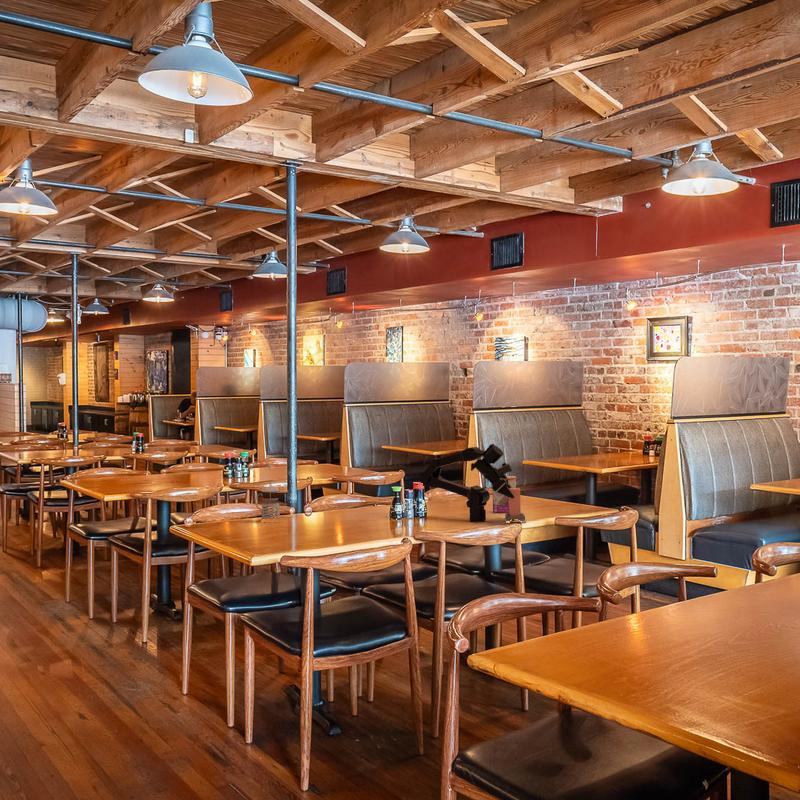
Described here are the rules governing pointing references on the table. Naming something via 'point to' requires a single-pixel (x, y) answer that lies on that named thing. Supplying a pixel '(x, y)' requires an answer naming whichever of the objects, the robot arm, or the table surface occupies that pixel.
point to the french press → (269, 503)
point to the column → (514, 502)
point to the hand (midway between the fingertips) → (514, 496)
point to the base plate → (515, 517)
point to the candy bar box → (503, 497)
